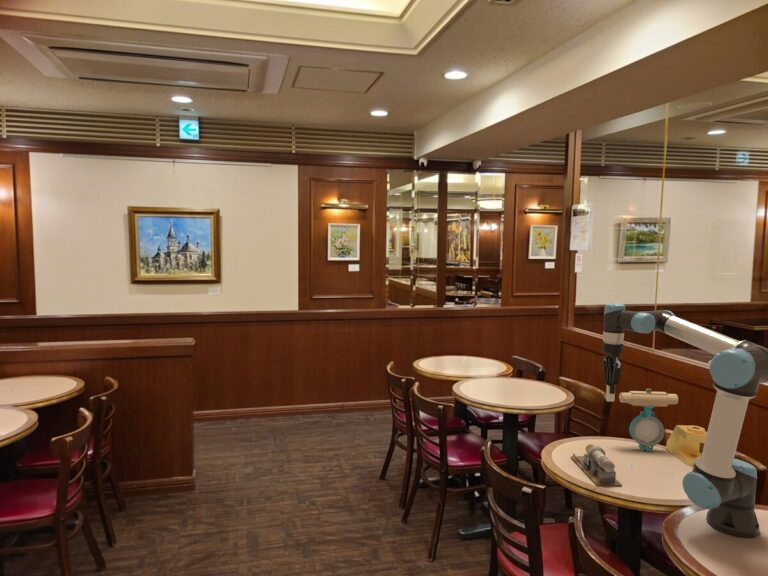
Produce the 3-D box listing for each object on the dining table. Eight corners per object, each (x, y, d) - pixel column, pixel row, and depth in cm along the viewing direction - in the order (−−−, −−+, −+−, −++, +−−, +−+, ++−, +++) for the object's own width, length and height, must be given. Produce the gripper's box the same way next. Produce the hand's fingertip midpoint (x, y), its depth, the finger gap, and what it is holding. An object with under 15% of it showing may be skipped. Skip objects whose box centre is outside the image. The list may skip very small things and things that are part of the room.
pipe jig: (621, 487, 207) (623, 459, 206) (596, 487, 207) (598, 459, 206) (591, 458, 236) (593, 433, 235) (570, 457, 236) (571, 433, 235)
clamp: (710, 467, 228) (712, 432, 227) (688, 466, 228) (690, 431, 227) (686, 449, 248) (688, 417, 247) (666, 449, 248) (668, 416, 247)
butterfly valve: (671, 448, 249) (674, 387, 246) (677, 454, 242) (681, 391, 239) (613, 445, 251) (616, 385, 249) (618, 451, 244) (621, 389, 242)
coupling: (603, 469, 220) (604, 446, 220) (586, 469, 220) (588, 446, 220) (598, 463, 226) (599, 441, 225) (581, 463, 226) (582, 441, 225)
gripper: (630, 345, 199) (627, 406, 201) (615, 339, 212) (612, 396, 214) (611, 345, 199) (608, 405, 201) (596, 339, 212) (594, 396, 214)
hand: (610, 400), depth 207 cm, fingers closed
